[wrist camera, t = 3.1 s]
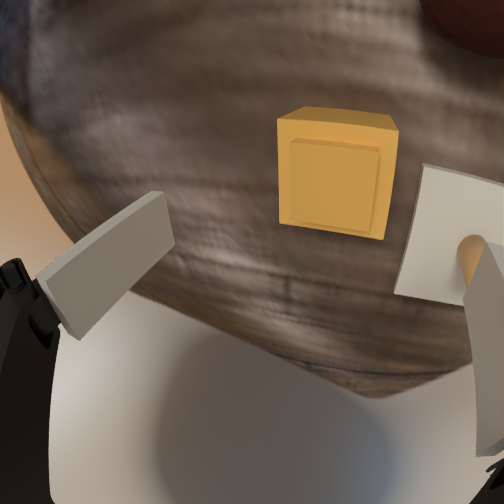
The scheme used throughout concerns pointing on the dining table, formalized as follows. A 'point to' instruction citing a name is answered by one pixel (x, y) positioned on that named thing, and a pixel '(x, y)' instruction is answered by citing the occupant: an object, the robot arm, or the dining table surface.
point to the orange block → (336, 170)
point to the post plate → (449, 233)
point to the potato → (469, 24)
